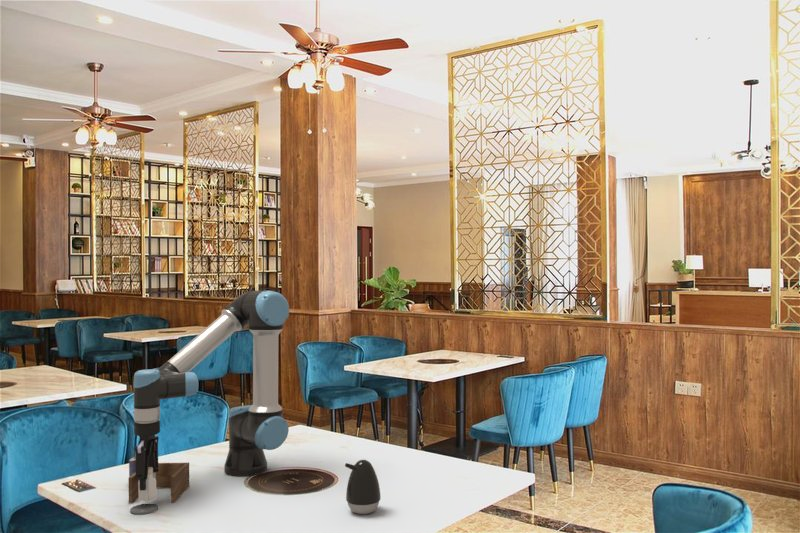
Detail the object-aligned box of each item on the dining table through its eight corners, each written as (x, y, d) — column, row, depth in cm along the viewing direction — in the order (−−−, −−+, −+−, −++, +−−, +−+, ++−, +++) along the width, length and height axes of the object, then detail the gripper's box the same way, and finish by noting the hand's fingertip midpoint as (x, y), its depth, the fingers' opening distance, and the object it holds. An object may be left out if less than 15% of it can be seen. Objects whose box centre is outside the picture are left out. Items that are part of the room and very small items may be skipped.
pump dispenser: (345, 506, 207) (344, 455, 207) (379, 504, 207) (379, 454, 208) (345, 518, 196) (345, 465, 196) (381, 516, 197) (381, 464, 197)
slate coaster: (162, 505, 209) (162, 503, 209) (153, 514, 201) (153, 512, 201) (136, 505, 209) (136, 503, 209) (125, 514, 201) (125, 512, 201)
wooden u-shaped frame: (189, 486, 227) (189, 462, 227) (174, 502, 211) (173, 477, 211) (147, 487, 227) (147, 463, 227) (128, 503, 211) (128, 477, 211)
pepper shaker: (146, 502, 205) (145, 470, 205) (137, 500, 208) (137, 468, 208) (157, 498, 209) (157, 467, 209) (148, 496, 211) (148, 465, 211)
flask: (134, 487, 227) (134, 455, 227) (126, 487, 228) (125, 454, 228) (148, 479, 236) (148, 448, 236) (140, 478, 237) (140, 447, 237)
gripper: (145, 414, 217) (146, 487, 217) (122, 427, 199) (123, 507, 199) (169, 414, 217) (169, 487, 217) (148, 427, 199) (149, 507, 199)
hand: (147, 496), depth 208 cm, fingers closed on pepper shaker, 5 cm apart
